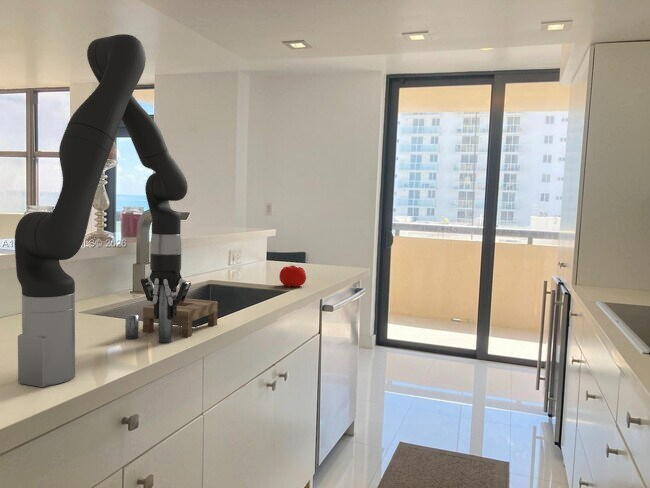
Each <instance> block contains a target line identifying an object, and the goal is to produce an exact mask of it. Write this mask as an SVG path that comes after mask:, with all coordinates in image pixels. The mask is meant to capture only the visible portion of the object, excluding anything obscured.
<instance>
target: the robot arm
mask: <svg viewBox="0 0 650 488" xmlns="http://www.w3.org/2000/svg"><path fill="white" fill-rule="evenodd" d="M86 58H87V61H88V64H89V67H90V69H91V72H92V73H93V75H94V77H95V79H96V80H97V82H98V83H99V84H98V86H97V87H96V88H95V90H93V91H92V93H91V94H90V95H89V96H88V97H87V98H86V99H85V100H84V101H83V102H82V104H80V105H79V107H78V108H77V109H76V110H75V111H74V113H73V114H72V116H71V117H70V119H69V121H68V123H67V126H66V128H65V130H64V132H63V135H62V137H61V141H60V144H59V149H58V157H59V164H60V169H61V174H62V186H61V189H60V193H59V195H58V198H57V202H56V203H55V206H54V208H53V210H52V211H32V212H28V213H27V214H25V215H24V216H22V217H21V218H20V219H19V221H18V223H17V225H16V227H15V231H14V253H15V254H14V255H15V257H14V258H15V270H16V277H17V280H18V282H19V284H20V287H21V334H18V335H17V379H18V380H17V382H18V384H23V385H28V386H33V387H40V388H44V387H47V386H52V385H58V384H62V383H65V382H68V381H70V380H73V379H74V377H75V376H76V333H75V332H76V323H75V322H76V314H75V313H76V297H75V295H76V292H75V291H76V287H75V286H76V284H75V279H74V278H73V276H71V275H69V274H68V273H66V271H64V269H63V268H62V266H61V263H60V261H66V260H70V259H72V258H74V256H76V254H78V253H79V251H80V250H81V248H82V245H83V243H84V241H85V237H86V235H87V229H88V224H89V222H90V218H91V217H90V216H91V212H92V209H93V204H94V200H95V197H96V195H97V194H96V193H97V191H98V187H99V184H100V181H101V177H102V174H103V172H104V169H105V166H106V164H107V161H108V160H109V159H108V158H109V157H110V154H111V152H112V148H113V145H114V143H115V140H116V137H117V133H118V130H119V127H120V124H121V122H122V123H123V125H124V127H125V128H126V131H127V133H128V135H129V137H130V140H131V142H132V145H133V146H134V150H135V151H136V154H137V157H138V159H139V160H140V163H141V165H142V166H143V167H145V168H147V169H149V170H151V171H153V172H154V173H152V174H150V175H149V176H148V177H147V180H146V182H145V185H144V186H145V189H144V190H145V197H146V200H147V205H148V209H149V211H150V212H149V213H150V216H151V236H150V243H149V244H150V245H149V246H150V254H149V258H150V262H149V268H150V270H151V273H150V275H149V276H148V277H146V278H145V277H144V278H141V279H140V284H141V287H142V290H143V293H144V295H145V298H146V300H147V301H148V302H151V303H152V304H154V316H155V318H157V319H156V320H158V319H159V285H164V286H165V291H166V296H167V297H168V302H169V306H168V320H173V319H175V317H176V316H177V304H179V303H182V302H184V300H185V298H186V297H187V295H188V292H189V289H190V288H191V285H192V283H191V280H188V281H187V280H185V279H183V277H182V275H181V270H182V249H183V248H182V238H181V237H182V236H181V230H182V229H181V224H182V223H181V222H182V218H181V214H180V212H178V211H176V210H174V209H172V208H171V204H170V202H177V201H181V200H183V199H184V198H185V197H186V196H187V193H188V186H189V185H188V181H187V178H186V175H185V174H184V172H183V171H182V169H181V168H180V166H179V165H178V164H177V161H175V159H174V158H173V157H172V155H171V154H170V153H169V152H170V151H169V150H168V147H167V144H166V142H165V139H164V137H163V134H162V132H161V129H160V128H159V126H158V124H157V123H156V121H155V120H154V119H153V118H152V117H151V115H149V113H148V112H147V111H146V110H145V109H144V108H143V107H142V105H141V104H140V103H139V102H138V101H137V99H136V98H135V96H134V95H133V93H134V92H135V90H136V88H137V86H138V83H139V82H140V80H141V77H142V75H143V73H144V70H145V67H146V60H147V59H146V50H145V47H144V45H143V44H142V42H141V40H139V38H137V37H136V36H134V35H132V34H125V33H124V34H123V33H122V34H121V33H120V34H119V33H118V34H115V35H111V36H105V37H100V38H96V39H94V40H92V41H90V43H89V45H88V46H87V51H86ZM178 288H179V290H178ZM171 291H172V293H171Z"/></svg>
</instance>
